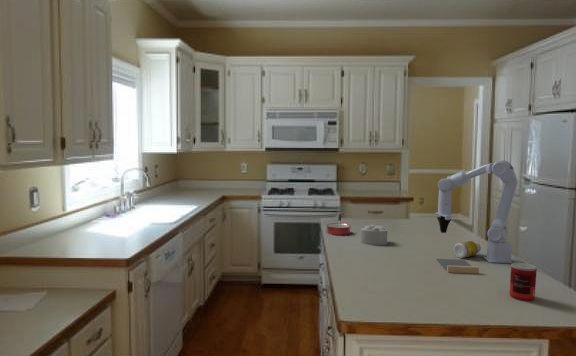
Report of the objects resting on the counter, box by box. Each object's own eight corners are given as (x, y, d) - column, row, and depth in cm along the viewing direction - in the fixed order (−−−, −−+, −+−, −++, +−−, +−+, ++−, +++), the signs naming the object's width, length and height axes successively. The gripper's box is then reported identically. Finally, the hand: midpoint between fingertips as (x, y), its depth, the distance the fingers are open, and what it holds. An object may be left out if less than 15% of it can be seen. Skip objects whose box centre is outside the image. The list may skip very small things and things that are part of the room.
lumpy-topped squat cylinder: (387, 245, 225) (388, 228, 224) (361, 244, 225) (362, 227, 225) (384, 240, 235) (385, 224, 234) (359, 240, 236) (360, 223, 235)
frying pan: (325, 224, 278) (325, 213, 277) (346, 224, 277) (346, 214, 277) (327, 235, 246) (327, 223, 246) (351, 235, 246) (351, 224, 245)
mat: (464, 260, 199) (464, 255, 198) (478, 273, 179) (478, 267, 179) (436, 259, 200) (436, 253, 199) (447, 272, 181) (447, 266, 180)
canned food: (526, 293, 157) (528, 262, 156) (539, 301, 150) (542, 269, 149) (504, 293, 157) (506, 262, 156) (517, 301, 149) (519, 268, 148)
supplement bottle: (468, 253, 198) (485, 249, 205) (459, 240, 202) (477, 237, 209) (458, 261, 203) (475, 257, 210) (450, 248, 206) (467, 244, 213)
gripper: (432, 201, 218) (431, 229, 219) (439, 205, 204) (438, 235, 205) (447, 201, 218) (446, 229, 219) (455, 206, 203) (454, 236, 204)
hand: (443, 232), depth 212 cm, fingers closed
